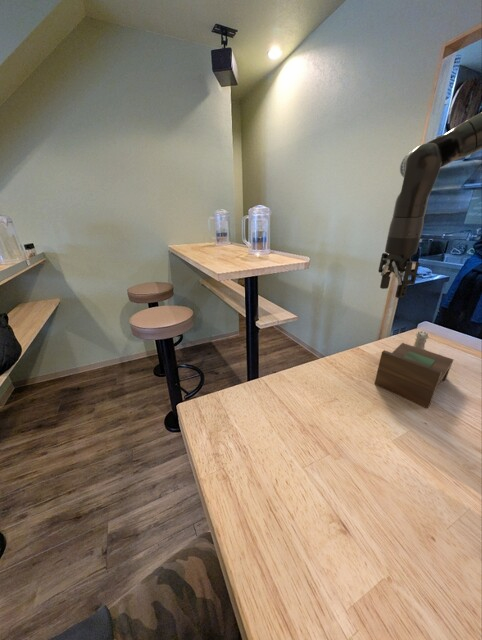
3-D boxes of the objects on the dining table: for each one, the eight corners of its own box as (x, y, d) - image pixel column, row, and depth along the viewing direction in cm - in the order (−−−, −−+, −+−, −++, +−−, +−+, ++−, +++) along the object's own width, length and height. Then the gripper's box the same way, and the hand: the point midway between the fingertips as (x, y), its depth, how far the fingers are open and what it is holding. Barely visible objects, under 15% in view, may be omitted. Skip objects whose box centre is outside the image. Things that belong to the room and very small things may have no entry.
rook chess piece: (414, 351, 79) (421, 328, 76) (428, 358, 76) (436, 335, 72) (403, 353, 78) (410, 331, 75) (417, 361, 74) (424, 337, 71)
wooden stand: (397, 359, 75) (405, 330, 71) (446, 378, 67) (458, 346, 63) (374, 384, 66) (381, 351, 62) (427, 408, 58) (440, 373, 54)
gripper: (437, 237, 60) (419, 300, 67) (402, 231, 73) (391, 285, 80) (405, 239, 61) (391, 301, 67) (376, 232, 73) (367, 286, 80)
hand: (391, 292), depth 74 cm, fingers open, 8 cm apart
